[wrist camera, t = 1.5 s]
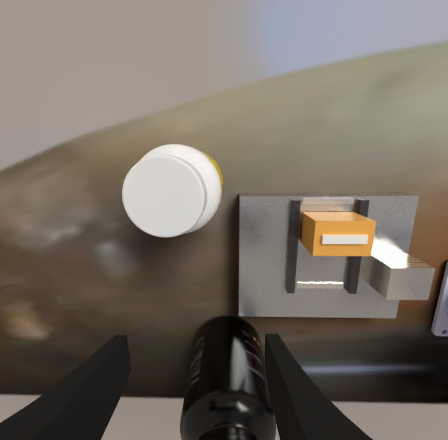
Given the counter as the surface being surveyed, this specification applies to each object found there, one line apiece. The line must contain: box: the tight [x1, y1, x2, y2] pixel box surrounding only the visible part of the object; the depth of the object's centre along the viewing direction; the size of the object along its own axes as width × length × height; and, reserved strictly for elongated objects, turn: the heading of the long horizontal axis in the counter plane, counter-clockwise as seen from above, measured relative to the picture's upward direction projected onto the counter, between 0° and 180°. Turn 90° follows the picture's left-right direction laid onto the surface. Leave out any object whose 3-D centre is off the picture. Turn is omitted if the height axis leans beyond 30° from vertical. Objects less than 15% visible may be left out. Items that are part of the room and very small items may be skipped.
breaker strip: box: [238, 193, 435, 318], centre depth 19 cm, size 14×11×5 cm
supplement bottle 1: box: [122, 144, 223, 237], centre depth 16 cm, size 5×5×10 cm
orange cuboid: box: [300, 212, 376, 256], centre depth 17 cm, size 4×2×3 cm, turn 90°
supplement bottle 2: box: [180, 316, 276, 440], centre depth 19 cm, size 7×7×12 cm
